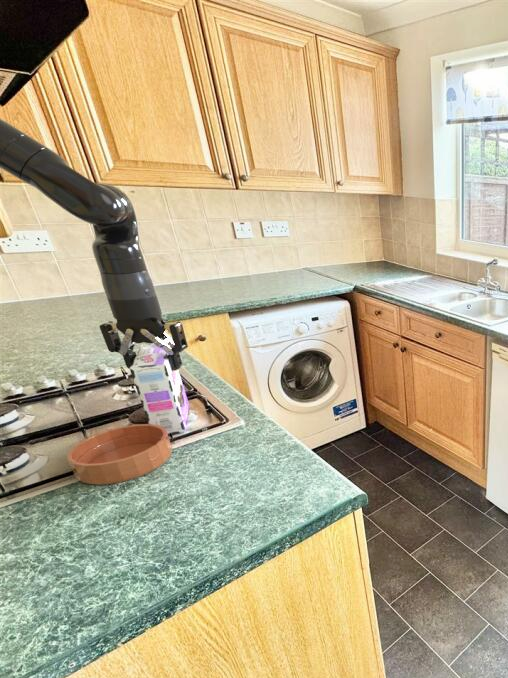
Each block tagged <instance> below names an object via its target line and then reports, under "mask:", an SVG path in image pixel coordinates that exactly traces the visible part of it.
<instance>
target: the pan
mask: <svg viewBox="0 0 508 678" xmlns="http://www.w3.org/2000/svg"><path fill="white" fill-rule="evenodd" d="M172 453H173V446H172V443H171V439H170V438H169V435H168V434H167V432H166V430H165V428H163V427H161V426H158V425H151V424H148V423H146V424H145V423H144V424H140V423H139V424H132V425H123V426H120V427H115V428H111V429H107V430H104V431H102V432H99V433H97V434H93V435H91V436H89V437H87V438H85V439H83V440H80V442H78V443H77V444H75V445H74V446H73V447H71V448H70V450H69V451H68V453H67V454H66V458H67V462H68V464H69V467H70V469H71V471H72V473H73V475H74V477H75V479H77V480H78V481H80V482H81V483H85V484H88V485H95V486H101V485H102V486H103V485H112V484H118V483H123V482H127V481H130V480H134V479H136V478H139V477H142V476H144V475H147V474H149V473H151V472H152V471H155V470H157V469H158V468H160V467H161V466H162V465H164V464H165V463H166V462H167V461H168V460H169V459H170V456H171V455H172Z"/></svg>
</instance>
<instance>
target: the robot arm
mask: <svg viewBox="0 0 508 678" xmlns="http://www.w3.org/2000/svg"><path fill="white" fill-rule="evenodd" d="M0 169H1V170H3V171H4V172H6V173H8V174H10V175H11V176H13V177H15V178H16V179H18V180H20V181H22V182H23V183H25V184H27V185H29V186H31V187H33V188H35V189H36V190H38V191H39V193H41V194H43V196H45V197H46V198H48V199H49V200H50V201H52V202H53V203H55V204H56V205H58V206H59V207H60V208H62V209H63V210H64V211H66V212H67V213H69V214H70V215H72V216H74V217H75V218H78V219H79V220H81V221H83V222H85V223H88V224H90V225H92V228H93V232H94V240H93V242H92V244H91V250H92V253H93V257H94V260H95V262H96V265H97V269H98V272H99V274H100V279H101V285H102V288H103V291H104V293H105V296H106V299H107V302H108V305H109V308H110V311H111V313H112V316H113V318H114V319H115V320H116V322H114V321H112V320H110V321H106V322H104V323H102V324H100V325H99V329H100V333H101V335H102V337H103V340H104V342H105V345H106V348H107V350H108V351H109V352H110V353H118V354H120V355H121V356H122V358H123V361H124V364H125V366H126V368H127V369H129V370H130V367H131V366H132V363H133V361H134V359H135V357H136V355H137V352H136V351H134V349H135V347H136V345H137V344H142V343H143V344H153V345H154V346H157V347H160V348H162V349H163V350H164V351H165V352H166V353H167V354H168V355H167V357H168V360H169V363H170V366H171V369H172V371H177V370H180V369H181V367H182V366H183V361H182V358H181V354H180V353H181V352H183V351H184V350H186V349H187V348H188V347H189V346H188V341H187V338H186V337H187V336H186V334H185V330H184V326H183V324H182V322H181V321H176V322H174V323H173V322H172V323H171V322H170V323H169V322H166V321H165V320H164V319H163V312H162V309H161V306H160V305H161V304H160V303H159V298H158V296H157V292H156V289H155V285H154V282H153V280H152V278H151V276H150V273H149V270H148V268H147V264H146V261H145V258H144V254H143V252H142V248H141V247H140V240H139V239H140V237H139V228H138V220H137V215H136V211H135V208H134V205H133V203H132V200H131V199H130V198H129V196H128V195H127V194H126V193H125V192H124V191H123V190H121V189H120V188H119V187H117V186H114V185H112V184H108V183H102V182H101V183H96V182H94V181H92V180H90V179H89V178H87V177H85V176H84V175H83V174H82V173H79V172H78V171H76V170H75V169H73V168H72V167H70V165H69V163H68V161H67V160H66V159H65V158H64V157H62V156H61V155H60V154H58V153H57V152H55V151H54V150H52V149H51V148H49V147H47V146H46V145H44V144H43V143H41V142H39V141H38V140H36V139H35V138H33V137H31V136H30V135H28V134H27V133H25V132H23V131H22V130H20V129H18V128H17V127H15V126H13V125H11V123H8V122H6V121H5V120H4V119H2V118H0ZM166 330H167V333H168V334H170V335H171V337H170V335H168V334H167V333H166ZM119 332H121V334H123V335H124V336H123V339H122V340H121V337H120V335H119Z"/></svg>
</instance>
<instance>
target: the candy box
mask: <svg viewBox="0 0 508 678" xmlns="http://www.w3.org/2000/svg"><path fill="white" fill-rule="evenodd" d="M167 355H168V354H167V353H166V352H165V351H164V350H163V349H162V348H160V347H157V346H156V345H150V346H149V345H147V346H140V347H138V351H137V352H136V357H135V359H134V361H133V363H132V366H131V367H130V369H129V371H130V374H131V377H132V380H133V383H134V386H135V388H136V389H135V390H136V392H137V395H138V398H139V401H140V403H141V406H142V409H143V412H144V416H145V418H146V421H147V424H151V425H158V426H161V427H163V428H165V430H166V432H167V434H168V436H169V435H170V433H172V434H171V435H177V434H182V433H185V432H186V430H187V425H188V418H189V411H190V403H189V399H188V396H187V393H186V390H185V386H184V383H183V380H182V377H181V374H180V369H178V370H177V371H172V369H171V366H170V363H169V360H168V357H167Z"/></svg>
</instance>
